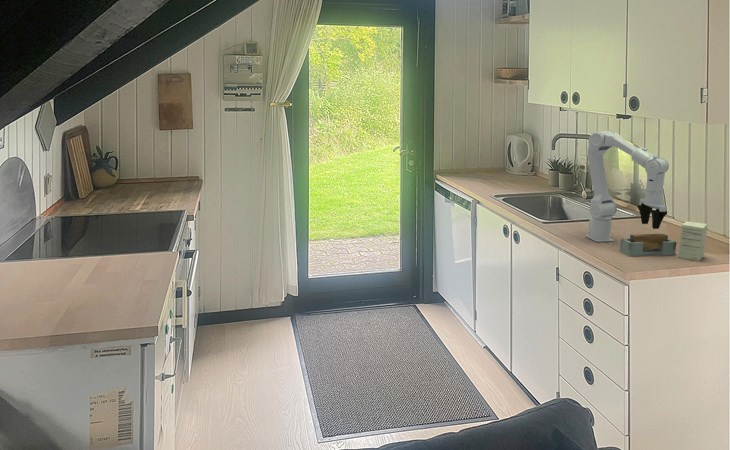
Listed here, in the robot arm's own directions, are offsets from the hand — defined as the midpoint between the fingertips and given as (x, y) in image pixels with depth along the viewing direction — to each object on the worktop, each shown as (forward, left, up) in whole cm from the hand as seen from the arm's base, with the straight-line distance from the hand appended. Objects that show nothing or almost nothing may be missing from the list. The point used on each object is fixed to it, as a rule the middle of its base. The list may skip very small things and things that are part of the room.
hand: (650, 226), depth 232 cm
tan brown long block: (+3, -1, -8) cm, 8 cm away
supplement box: (+10, +12, -10) cm, 18 cm away
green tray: (+3, -1, -10) cm, 10 cm away
